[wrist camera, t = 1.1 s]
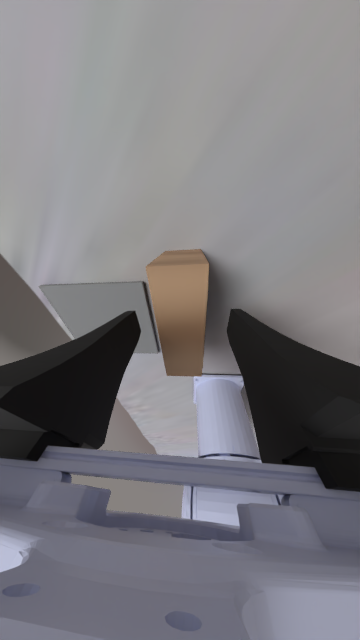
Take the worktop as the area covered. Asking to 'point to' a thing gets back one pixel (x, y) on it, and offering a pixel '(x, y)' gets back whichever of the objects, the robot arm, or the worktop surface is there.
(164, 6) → the worktop surface
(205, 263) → the slab
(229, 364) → the worktop surface
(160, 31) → the worktop surface
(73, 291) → the mat
